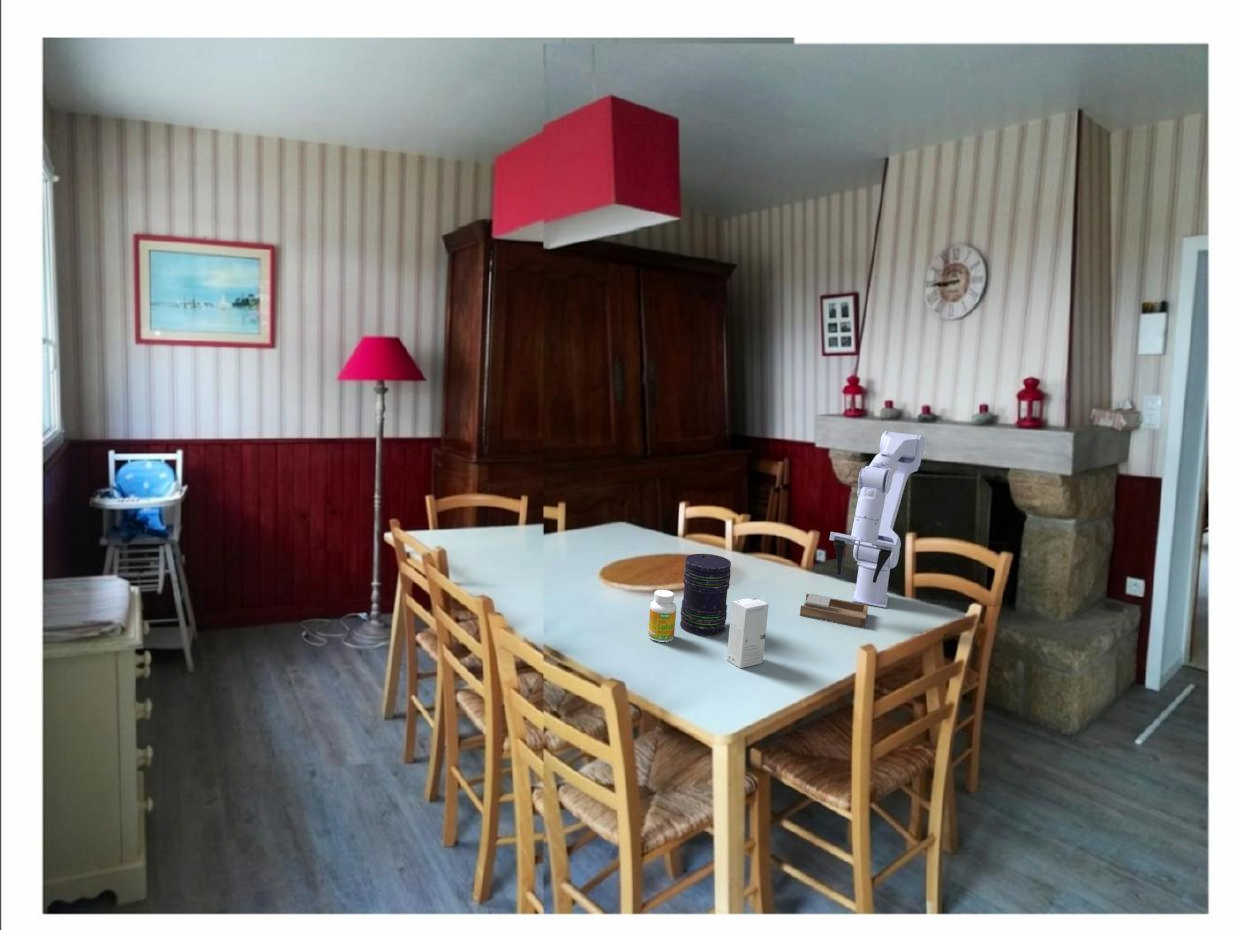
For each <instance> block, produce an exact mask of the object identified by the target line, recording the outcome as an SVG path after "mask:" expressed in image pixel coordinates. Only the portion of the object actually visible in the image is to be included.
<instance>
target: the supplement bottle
mask: <svg viewBox="0 0 1236 930" xmlns="http://www.w3.org/2000/svg"><path fill="white" fill-rule="evenodd" d="M674 600H675V593H674V592H672V591H670V590H667V589H657V590H655V591H654V595H653V601H651V603H650V605H649V614H648V615H649V617H648V629H647V630H648V631H647V635H648V634H649V636H650V637H651V638H652V639H654V640H656V641H664V642H666V643H670V642H672V641H673V640H674V638H675V630H676V629H675V628H676V617H677V605H676V603H675V602H674ZM669 641H670V642H669Z"/></svg>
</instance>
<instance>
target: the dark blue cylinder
mask: <svg viewBox="0 0 1236 930" xmlns="http://www.w3.org/2000/svg"><path fill="white" fill-rule="evenodd" d="M684 562H685V564H684V570H683V587H684V588H683V599H682V601H681V607H680V619H681V620H680V622H679V626H681V627H680V629H682V630H683V631H684V632H687V633H688V634H691V635H695V636H700V637H716V636H719V635H722V634H723V633H725V631H726V625H725V624H726V621H727V617H728V613H727V610H728V604H727V598H728V590H729V588H730V581H731V567H732V562H731V560H730V559H728V558H726V557H724V556H721V555H718V554H717V555H716V554H710V553H693V554H690V555H687V556H686V557H685V561H684Z"/></svg>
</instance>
